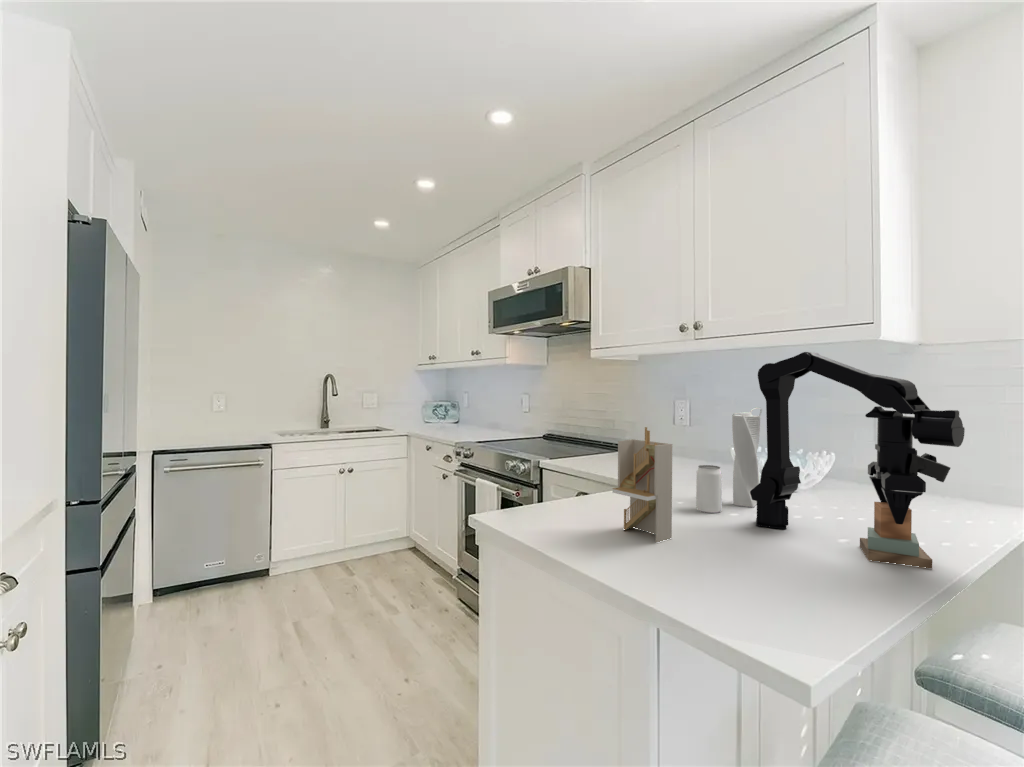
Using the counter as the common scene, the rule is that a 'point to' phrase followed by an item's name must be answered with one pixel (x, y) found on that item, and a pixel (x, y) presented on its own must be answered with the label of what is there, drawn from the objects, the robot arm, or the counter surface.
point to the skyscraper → (745, 456)
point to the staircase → (646, 485)
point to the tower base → (896, 556)
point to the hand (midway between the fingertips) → (893, 518)
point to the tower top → (893, 544)
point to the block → (891, 523)
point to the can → (709, 489)
